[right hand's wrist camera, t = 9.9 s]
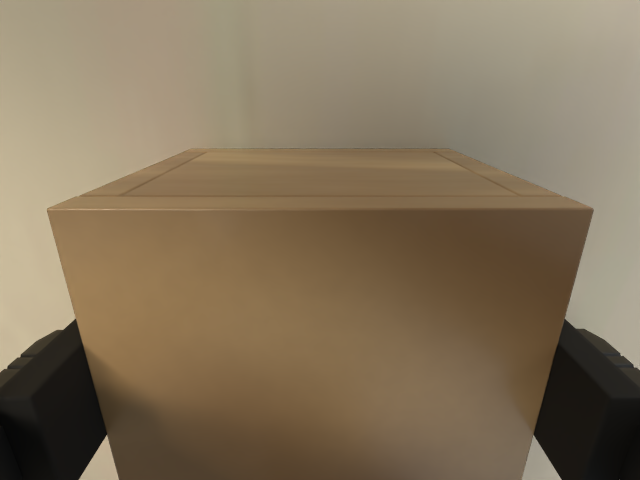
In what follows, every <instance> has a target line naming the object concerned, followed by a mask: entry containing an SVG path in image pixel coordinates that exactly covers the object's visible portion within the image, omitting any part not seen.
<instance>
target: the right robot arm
mask: <svg viewBox="0 0 640 480" xmlns="http://www.w3.org/2000/svg"><path fill="white" fill-rule="evenodd" d="M106 435H107V432H106V429H105V425H104V421H103V417H102V414H101V410H100V406H99V403H98V399H97V395H96V391H95V388H94V384H93V380H92V376H91V373H90V369H89V365H88V362H87V358H86V354H85V350H84V347H83V343H82V339H81V335H80V332H79V328H78V324H77V321H76V319H75V320H74V321H73V322H72V323H71V324H69V325H68V326H67V327H66V328H65V329H64V330H56V331H54V332H52V333H51V334H49V335H47V336H45V337H43V338H42V339H40V340H38V341H36V342H35V343H34V344H33V345H32V346H30V347H29V348H28V349H27V350H26V351H25V352H23V353H22V354H21V357H20V358H17V359H15V360H14V361H13V362H12V363H11V364H10V365H8V368H7V369H4V370H3V371H2V372H0V480H79V478H80V477H81V475H82V473H83V472H84V470H85V469H86V467H87V465H88V464H89V462H90V461H91V459H92V457H93V456H94V454H95V453H96V451H97V450H98V448H99V446H100V445H101V443H102V442H103V440H104V438H105V437H106ZM533 435H534V436H535V438H536V439H537V441H538V442H539V444H540V446H541V447H542V449H543V450H544V452H545V454H546V455H547V457H548V458H549V460H550V462H551V463H552V465H553V466H554V468H555V470H556V471H557V473H558V474H559V476H560V478H561V479H562V480H619V479H620V480H640V370H639V369H638V368H634V367H633V364H632V363H631V362H629V361H628V360H627V359H626V358H625V357H624V356H620V353H619V352H618V351H617V350H616V349H614V348H613V347H612V346H611V345H610V344H609V343H607V342H606V341H605V340H603V339H602V338H600V337H598V336H596V335H594V334H593V333H591V332H589V331H587V330H585V329H575V328H574V327H573V326H572V325H571V324H570V323H569V322H568V321H567V320H566V319H564V323H563V326H562V330H561V334H560V337H559V341H558V345H557V349H556V352H555V356H554V360H553V364H552V367H551V371H550V375H549V378H548V382H547V386H546V390H545V393H544V397H543V401H542V404H541V408H540V412H539V416H538V419H537V423H536V427H535V431H534V434H533Z"/></svg>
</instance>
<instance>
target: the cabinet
mask: <svg viewBox="0 0 640 480" xmlns="http://www.w3.org/2000/svg"><path fill="white" fill-rule="evenodd" d="M593 211H594V210H593V208H591V207H589V206H586V205H584V204H581V203H579V202H577V201H574V200H572V199H569V198H567V197H562V196H561V195H558V194H556V193H554V192H551V191H549V190H546V189H544V188H542V187H539V186H537V185H534V184H532V183H530V182H527V181H525V180H523V179H520V178H518V177H515V176H513V175H511V174H508V173H506V172H503V171H501V170H499V169H496V168H494V167H491V166H489V165H487V164H484V163H482V162H479V161H477V160H475V159H472V158H470V157H468V156H465V155H463V154H460V153H458V152H456V151H453V150H451V149H189V150H187V151H185V152H183V153H180V154H178V155H175V156H173V157H171V158H168V159H166V160H164V161H161V162H159V163H156V164H154V165H152V166H149V167H147V168H145V169H142V170H140V171H137V172H135V173H133V174H130V175H128V176H125V177H123V178H121V179H118V180H116V181H114V182H111V183H109V184H106V185H104V186H102V187H99V188H97V189H94V190H92V191H90V192H87V193H85V194H83V195H80V196H79V197H74V198H71V199H69V200H66V201H64V202H62V203H59V204H57V205H54V206H52V207H50V208H48V209H47V212H48V216H49V220H50V224H51V227H52V231H53V235H54V238H55V242H56V246H57V250H58V253H59V257H60V261H61V265H62V268H63V272H64V276H65V279H66V283H67V287H68V291H69V294H70V298H71V302H72V306H73V309H74V313H75V317H76V321H77V324H78V328H79V332H80V335H81V339H82V343H83V347H84V350H85V354H86V358H87V362H88V365H89V369H90V373H91V376H92V380H93V384H94V388H95V391H96V395H97V399H98V403H99V406H100V410H101V414H102V417H103V421H104V425H105V429H106V432H107V436H108V440H109V444H110V447H111V451H112V455H113V458H114V462H115V466H116V470H117V473H118V477H119V480H521V479H522V475H523V471H524V468H525V464H526V460H527V457H528V453H529V449H530V445H531V442H532V438H533V434H534V431H535V427H536V423H537V419H538V416H539V412H540V408H541V404H542V401H543V397H544V393H545V390H546V386H547V382H548V378H549V375H550V371H551V367H552V364H553V360H554V356H555V352H556V349H557V345H558V341H559V337H560V334H561V330H562V326H563V323H564V319H565V315H566V311H567V308H568V304H569V300H570V297H571V293H572V289H573V285H574V282H575V278H576V274H577V270H578V267H579V263H580V259H581V256H582V252H583V248H584V244H585V241H586V237H587V233H588V229H589V226H590V222H591V218H592V215H593Z"/></svg>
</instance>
